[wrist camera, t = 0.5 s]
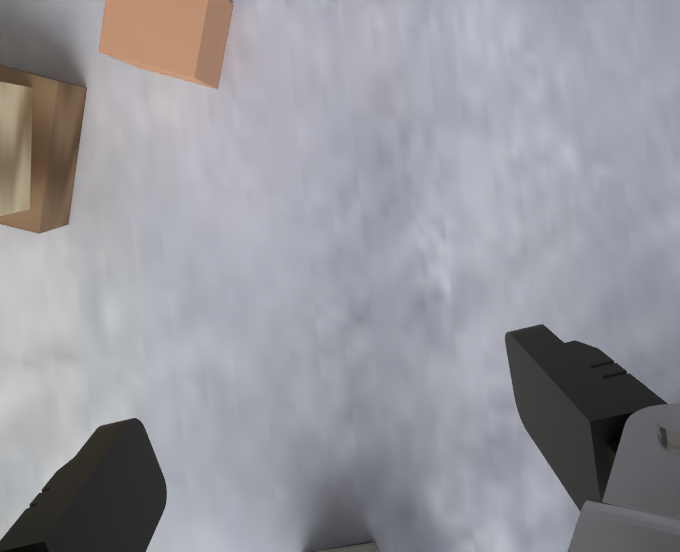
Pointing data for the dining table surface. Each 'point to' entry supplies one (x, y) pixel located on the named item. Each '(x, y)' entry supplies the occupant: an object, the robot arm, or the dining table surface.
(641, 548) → the robot arm
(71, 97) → the tower base
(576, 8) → the dining table surface
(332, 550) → the skincare box
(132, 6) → the peach cube on top
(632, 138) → the dining table surface
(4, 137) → the tower middle
